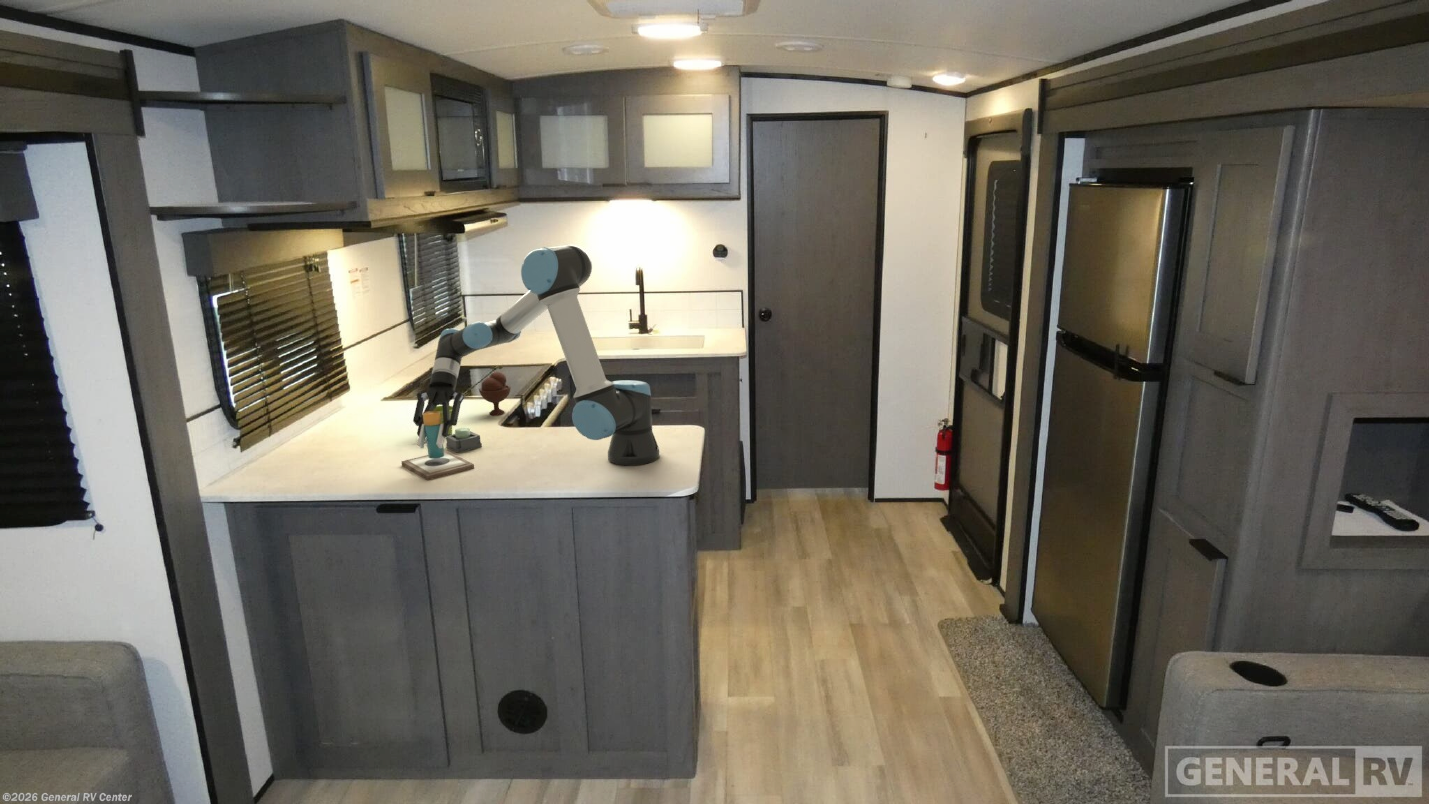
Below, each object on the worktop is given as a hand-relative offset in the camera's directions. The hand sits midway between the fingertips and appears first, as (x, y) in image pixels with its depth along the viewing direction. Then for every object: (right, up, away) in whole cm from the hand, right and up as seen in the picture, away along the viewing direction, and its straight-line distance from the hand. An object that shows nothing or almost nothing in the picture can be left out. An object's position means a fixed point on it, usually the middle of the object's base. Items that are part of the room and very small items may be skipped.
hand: (429, 446), depth 243 cm
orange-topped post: (0, -3, +5) cm, 6 cm away
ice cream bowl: (+4, +8, +60) cm, 61 cm away
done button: (+3, +1, +22) cm, 23 cm away
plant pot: (-8, +2, +37) cm, 38 cm away
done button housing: (+3, -1, +23) cm, 23 cm away
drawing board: (0, -6, +6) cm, 8 cm away
